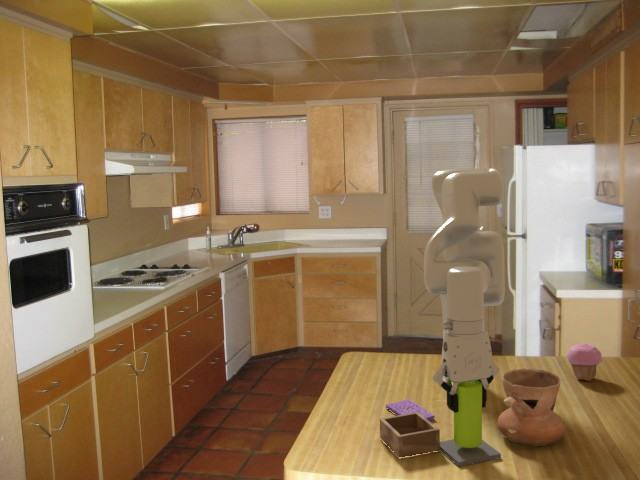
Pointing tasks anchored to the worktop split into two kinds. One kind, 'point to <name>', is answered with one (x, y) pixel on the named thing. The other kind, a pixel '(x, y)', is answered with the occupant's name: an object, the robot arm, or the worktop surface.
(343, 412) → the worktop surface
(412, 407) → the sponges
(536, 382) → the ceramic jug
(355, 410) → the worktop surface
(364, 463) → the worktop surface
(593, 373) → the cupcake
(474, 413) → the soap dispenser
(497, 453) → the mat
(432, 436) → the holder
